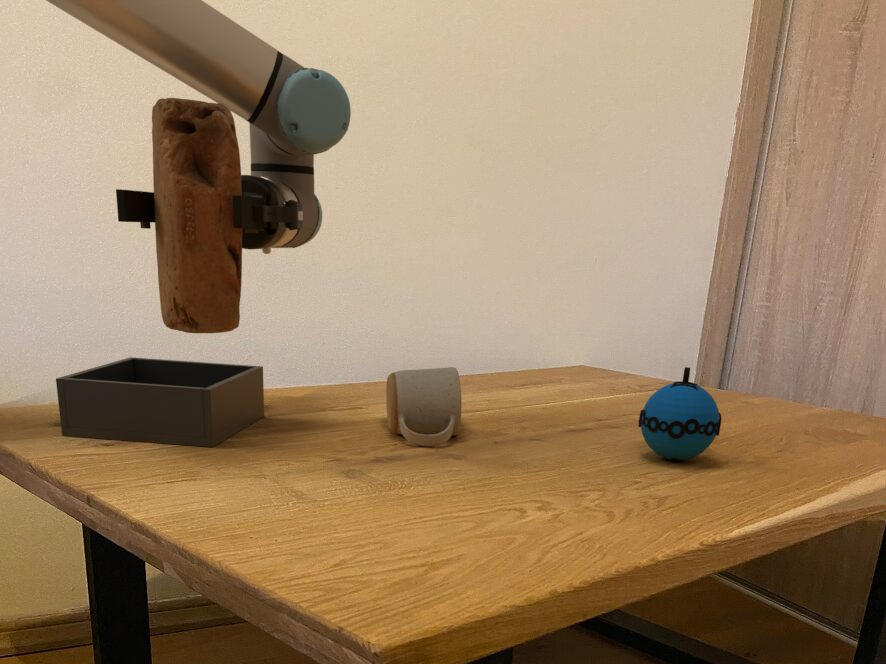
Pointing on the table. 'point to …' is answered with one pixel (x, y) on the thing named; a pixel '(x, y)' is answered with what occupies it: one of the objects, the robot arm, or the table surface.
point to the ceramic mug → (424, 405)
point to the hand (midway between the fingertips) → (178, 208)
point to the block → (197, 215)
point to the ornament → (680, 420)
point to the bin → (161, 401)
